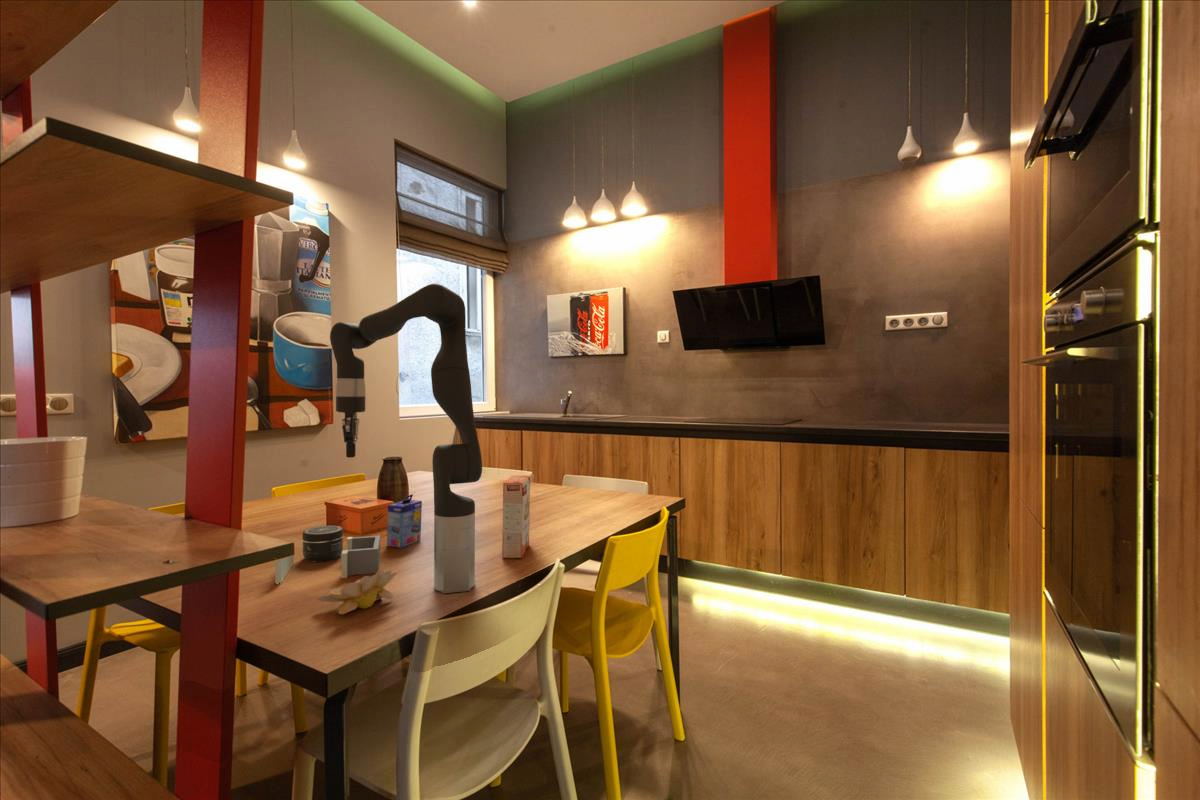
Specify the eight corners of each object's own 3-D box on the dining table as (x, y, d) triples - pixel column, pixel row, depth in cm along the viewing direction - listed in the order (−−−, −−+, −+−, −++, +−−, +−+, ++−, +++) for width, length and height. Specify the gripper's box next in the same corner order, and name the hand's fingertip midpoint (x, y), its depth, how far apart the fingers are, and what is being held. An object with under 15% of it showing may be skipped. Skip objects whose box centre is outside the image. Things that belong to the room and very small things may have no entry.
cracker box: (523, 559, 153) (523, 482, 152) (501, 559, 153) (501, 482, 152) (530, 545, 167) (531, 474, 166) (510, 544, 167) (510, 474, 166)
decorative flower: (377, 580, 130) (380, 541, 128) (406, 602, 124) (410, 561, 122) (312, 604, 118) (314, 562, 116) (340, 630, 112) (343, 585, 110)
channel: (377, 574, 139) (377, 550, 139) (275, 584, 132) (275, 559, 132) (380, 556, 155) (380, 534, 154) (288, 564, 147) (288, 541, 147)
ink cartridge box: (402, 548, 162) (402, 498, 162) (386, 546, 164) (385, 497, 164) (422, 539, 172) (422, 492, 172) (407, 538, 173) (407, 491, 173)
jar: (293, 561, 150) (293, 532, 150) (320, 551, 160) (320, 524, 159) (325, 564, 147) (325, 535, 147) (351, 553, 157) (351, 526, 157)
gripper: (362, 395, 152) (362, 459, 152) (368, 394, 164) (368, 454, 165) (331, 395, 149) (331, 460, 150) (340, 394, 162) (340, 454, 163)
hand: (350, 457), depth 157 cm, fingers closed
